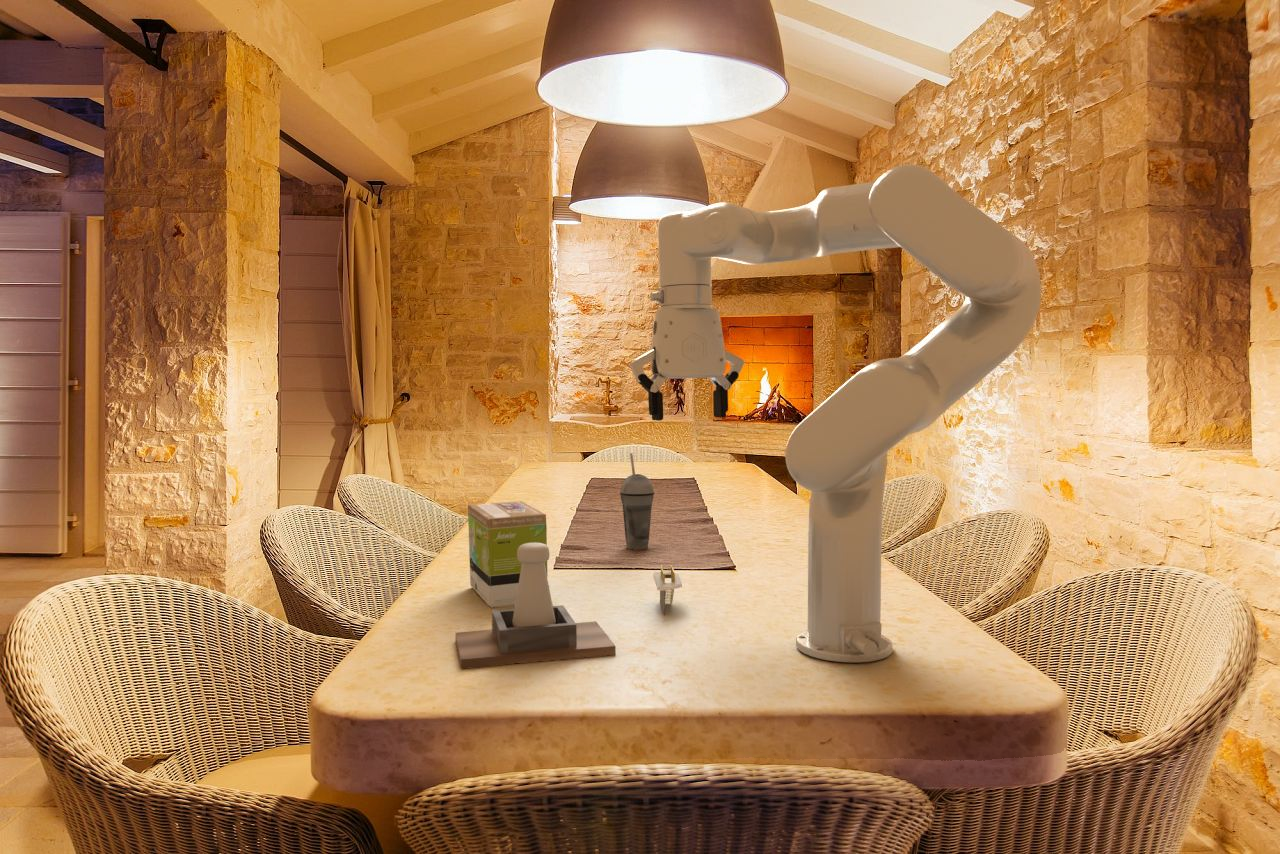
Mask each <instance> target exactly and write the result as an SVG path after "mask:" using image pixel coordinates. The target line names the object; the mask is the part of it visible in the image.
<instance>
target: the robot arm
mask: <svg viewBox="0 0 1280 854" xmlns="http://www.w3.org/2000/svg"><path fill="white" fill-rule="evenodd" d="M894 248H896V249H897V248H901V249H902V250H904V251H905V252H906V254H909V255H910V256H911V257H912V258H913V259H915V260H916V261H917V262H919V264H921V265H922V266H923V267H924V268H926V269H927V270H928V271H930V272H931V273H932V274H933V275H934V276H936V277H937V278H938V279H939V280H940V281H941V282H943V283H944V284H946V285H947V286H948V287H949V288H951V289H952V290H954V291H955V292H956V293H958V294H960V295H961V296H963V297H965V301H963V304H961V306H960V307H959V308H958V309H957V310H956V311H955V312H954V313H952V314H951V315H950V316H948V317H947V318H946V319H944V320H943V321H942V322H941V323H939V324H938V325H937V326H936V327H935V328H934V329H933V330H931V332H929V333H928V334H927V335H926V336H925V337H924V338H922V340H921V341H919V342H918V343H917V344H916V345H914V346H913V347H912V348H911V349H909V350H908V351H906V352H905V353H904V354H903V355H901V356H899V357H888V358H884V359H880V360H877V361H875V362H871V363H870V364H868V365H866V366H865V367H863V368H862V369H860V370H859V371H858V372H856V373H855V374H854V375H852V376H851V378H849V379H848V380H847V381H846V382H844V384H842V385H841V386H840V387H839V388H837V390H836V391H834V392H833V393H832V394H831V395H830V396H829V397H828V398H826V400H824V401H823V402H822V403H821V404H820V405H819V406H818V407H816V408H815V409H814V410H813V411H812V412H811V413H810V414H809V415H807V416H806V417H805V418H804V419H803V420H802V421H801V422H800V423H799V424H798V425H797V426H796V427H795V428H794V430H792V432H791V434H790V436H789V437H788V439H787V443H786V446H785V452H784V453H785V454H784V455H785V457H784V459H785V464H786V468H787V470H788V471H787V472H789V475H790V476H791V477H792V479H793V480H794V481H795V482H796V484H798V485H799V486H801V487H802V488H804V489H806V490H808V491H810V498H809V507H808V508H809V509H808V532H807V533H808V537H807V539H808V540H807V541H808V542H807V630H803V631H802V632H800V633H798V634H797V635H796V637H795V647H796V648H797V650H799V651H800V652H801V653H803V654H804V655H806V656H809V657H812V658H815V659H818V660H824V661H829V662H835V663H836V662H837V663H852V664H853V663H857V664H859V663H868V662H869V663H870V662H876V661H880V660H883V659H886V658H887V657H889V656H891V654H892V653H893V642H892V641H891V640H890V639H889V638H888V637H887V636H885V635H883V634H882V623H881V616H882V615H881V609H882V608H881V606H882V605H881V604H882V599H881V598H882V597H881V596H882V589H881V588H882V536H883V503H884V491H885V484H886V483H885V481H886V474H887V467H888V466H887V465H888V452H889V451H890V450H891V449H892V448H894V447H895V446H896V445H897V444H899V443H900V442H902V440H903V439H905V438H906V437H907V436H909V435H913V434H915V433H919V432H921V431H924V430H925V429H927V428H929V427H930V426H931V425H932V424H933V423H935V422H936V420H938V419H939V417H941V416H942V415H943V413H945V412H947V410H948V409H950V407H951V406H953V405H954V404H955V403H956V402H958V401H959V400H960V399H961V398H962V397H964V396H965V395H966V394H967V393H969V392H970V391H971V390H972V389H973V388H975V387H976V386H977V385H978V384H979V383H980V382H981V381H982V380H984V378H985V377H987V376H988V375H989V374H990V373H992V371H995V370H996V368H997V367H998V366H1000V365H1001V364H1002V363H1003V362H1004V361H1005V360H1006V359H1008V358H1009V356H1010V355H1012V354H1013V353H1014V352H1015V351H1016V350H1017V349H1018V347H1020V345H1021V344H1022V343H1023V342H1024V341H1025V339H1026V338H1027V337H1028V334H1029V333H1030V332H1031V330H1032V328H1033V326H1034V324H1035V322H1036V319H1037V316H1038V313H1039V311H1040V307H1041V299H1042V289H1041V288H1042V287H1041V286H1042V284H1041V278H1040V277H1041V276H1040V273H1039V269H1038V265H1037V262H1036V260H1035V257H1034V255H1033V253H1032V252H1031V250H1030V248H1029V247H1028V246H1027V244H1025V242H1024V241H1023V240H1021V239H1020V238H1019V237H1018V236H1016V235H1014V233H1012V232H1010V230H1008V229H1006V227H1004V226H1002V225H1001V224H1000V223H999V222H998V221H995V220H994V219H993V218H992V217H990V216H989V215H987V214H986V213H985V212H984V211H982V210H981V209H979V207H977V206H976V205H975V204H973V203H971V202H970V201H969V200H967V199H966V198H965V197H963V196H962V195H961V194H959V192H957V191H956V190H954V189H953V187H951V186H950V185H949V184H948V183H947V182H946V181H945V180H944V179H942V177H940V176H939V175H938V174H937V173H935V172H933V171H932V170H931V169H929V168H928V167H926V166H922V165H918V164H902V165H898V166H895V167H892V168H890V169H889V170H886V172H883V174H881V176H879V177H878V178H877V180H876V181H871V182H862V183H855V184H849V185H848V184H847V185H842V186H841V185H839V186H832V187H827V188H825V189H823V190H821V192H820V193H819V194H818V195H817V197H816V198H815V199H814V200H813V201H811V202H809V203H808V204H805V205H800V206H797V207H792V208H787V209H785V208H784V209H778V210H770V211H755V210H752V209H750V208H747V207H744V206H740V205H737V204H735V203H732V202H717V203H713V204H710V205H708V206H705V207H701V208H698V209H695V210H692V211H687V210H685V211H674V212H669V213H666V214H664V215H662V216H661V217H660V219H659V220H658V223H657V253H658V280H659V285H658V286H659V288H658V289H657V290H656V291H655V292H654V291H652V292H650V294H649V296H650V299H649V300H650V301H651V302H656V303H657V304H658V307H659V309H657V310H655V314H654V320H653V327H652V338H651V350H649V351H648V352H645V353H644V354H642V355H641V356H639V357H637V358H635V359H633V360H632V361H630V362H629V365H628V366H629V368H630V370H631V372H632V373H633V376H634V378H635V381H636V382H637V383H638V384H639V385H641V388H643V389H645V392H646V393H647V394H648V395H647V396H648V400H647V401H648V414H649V416H651V419H652V421H656V422H657V421H660V422H661V421H663V420H664V396H663V395H664V394H663V392H662V391H661V390H660V389H661V388H662V387H663V386H664V384H665V382H666V381H667V380H669V379H670V380H671V379H672V380H673V379H674V380H675V379H677V380H678V379H704V378H707V379H708V380H709V381H710V382H711V383H712V384H713V385H714V386H715V390H713V392H712V403H713V404H712V405H713V406H712V407H713V417H714V418H720V419H721V418H723V419H725V418H726V416H727V412H728V411H729V390H731V387H732V385H733V384H734V383H735V382H736V381H737V380H738V379H739V376H740V375H739V374H740V373H741V371H742V369H743V366H744V364H745V360H744V359H743V358H741V357H739V356H737V355H735V354H734V353H731V352H730V351H728V350H726V348H725V342H724V341H725V339H724V334H723V327H722V321H721V317H720V312H719V309H718V308H713V300H712V299H713V297H712V295H713V294H712V288H713V287H712V263H711V262H712V258H716V259H721V260H725V261H731V262H735V263H740V264H744V265H761V264H762V265H763V264H773V263H783V262H785V263H786V262H794V261H801V260H802V261H803V260H806V259H812V258H817V257H819V258H820V257H821V258H822V257H825V256H829V255H833V254H834V255H836V254H843V253H852V252H861V251H862V252H863V251H872V250H883V249H894ZM650 362H651V374H653V375H652V377H651V378H649V376H648V375H647V374H645V371H644V369H643V367H644V366H646V365H647V364H648V363H650ZM726 363H728V364H730V368H729V371H728V372H727V373H726V374H725V372H726ZM724 374H725V375H724Z"/></svg>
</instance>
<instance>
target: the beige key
mask: <svg viewBox="0 0 1280 854" xmlns="http://www.w3.org/2000/svg"><path fill="white" fill-rule="evenodd" d="M664 567H667V572H666V571H664ZM674 570H675V569H674V568H673V566H672V565H671V564H668V565H667V564H666V565H665V564H664V565H660V571H659V572H658V571H656V572H653V574H652V575H653V576H652V577H653V579H654V583H655V586H656V590H657V591H659V604H660V607H661V610H662V612H663V615H664V616H666V605H670V606H671V605H672V604H673V601H674V593H675V589H679V588H682V587H683V582H682V580H681V577H680V576H679V574H678V573H676V572H675V571H674ZM666 579H670V581H671V582H665V580H666Z"/></svg>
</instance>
